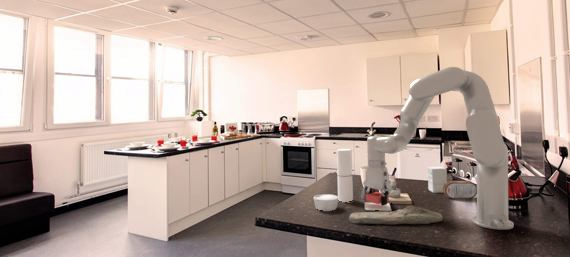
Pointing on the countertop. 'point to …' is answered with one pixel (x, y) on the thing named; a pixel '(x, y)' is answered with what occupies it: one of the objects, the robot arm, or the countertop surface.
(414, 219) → the elongated rock
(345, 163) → the cylindrical container
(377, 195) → the red white square box
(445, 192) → the tin
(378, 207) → the pad
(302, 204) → the countertop surface
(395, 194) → the stand
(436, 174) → the supplement box
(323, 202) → the ramekin
